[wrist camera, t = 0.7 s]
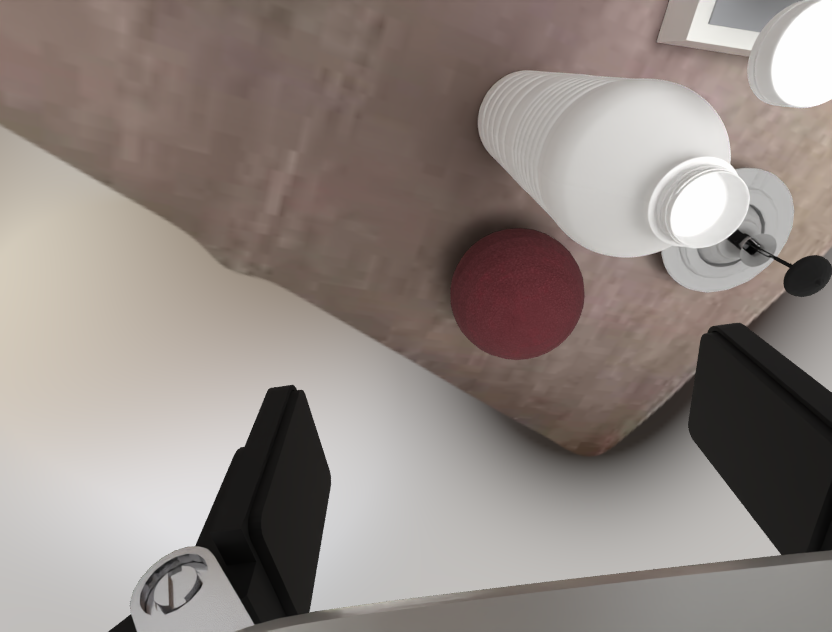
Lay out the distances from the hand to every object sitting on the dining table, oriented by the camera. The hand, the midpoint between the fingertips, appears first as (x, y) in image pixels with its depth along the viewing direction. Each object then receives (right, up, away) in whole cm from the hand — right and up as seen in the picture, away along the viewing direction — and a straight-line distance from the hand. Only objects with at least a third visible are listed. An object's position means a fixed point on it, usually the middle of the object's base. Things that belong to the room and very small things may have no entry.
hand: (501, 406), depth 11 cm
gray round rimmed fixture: (+22, +10, +29) cm, 38 cm away
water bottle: (+6, +18, +24) cm, 30 cm away
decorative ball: (+5, +6, +30) cm, 31 cm away
